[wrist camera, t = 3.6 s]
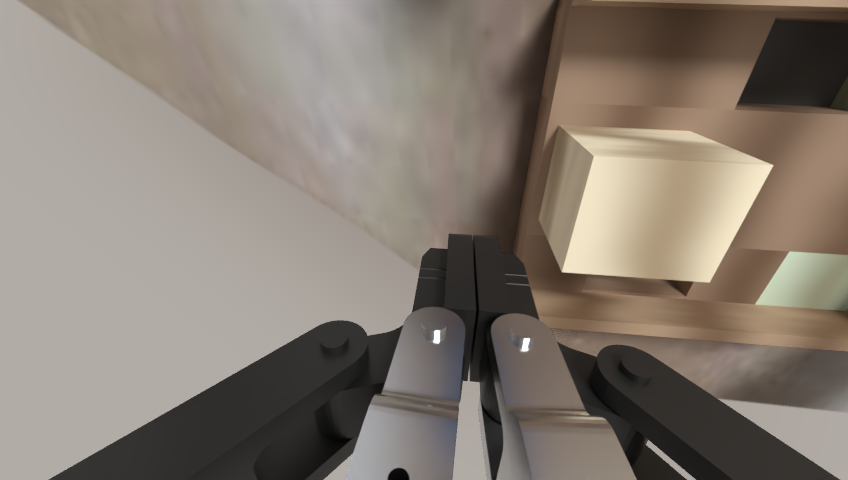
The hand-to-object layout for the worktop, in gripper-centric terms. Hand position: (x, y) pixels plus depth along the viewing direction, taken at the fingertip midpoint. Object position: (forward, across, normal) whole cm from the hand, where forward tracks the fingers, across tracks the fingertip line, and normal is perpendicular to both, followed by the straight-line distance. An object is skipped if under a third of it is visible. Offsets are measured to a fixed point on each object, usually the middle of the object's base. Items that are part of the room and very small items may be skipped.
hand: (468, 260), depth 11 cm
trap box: (+11, -14, 0) cm, 17 cm away
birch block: (+8, -7, 0) cm, 11 cm away
